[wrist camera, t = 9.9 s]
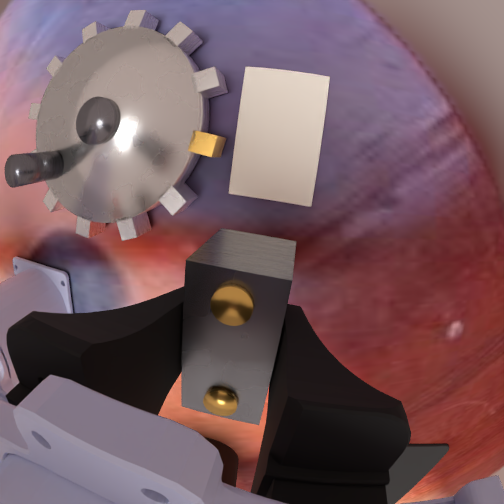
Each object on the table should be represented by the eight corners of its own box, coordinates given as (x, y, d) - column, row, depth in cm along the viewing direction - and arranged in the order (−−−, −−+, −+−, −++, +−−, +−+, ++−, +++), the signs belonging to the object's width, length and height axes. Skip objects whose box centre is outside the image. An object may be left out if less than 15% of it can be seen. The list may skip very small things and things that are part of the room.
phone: (453, 445, 22) (389, 508, 27) (451, 440, 23) (388, 504, 28) (398, 446, 23) (340, 509, 28) (396, 440, 24) (340, 504, 28)
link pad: (310, 206, 18) (311, 207, 18) (229, 193, 19) (228, 193, 19) (329, 78, 16) (329, 76, 16) (246, 67, 16) (245, 66, 16)
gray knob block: (271, 363, 14) (257, 430, 10) (209, 349, 14) (179, 411, 10) (296, 241, 12) (291, 285, 8) (221, 228, 12) (182, 263, 8)
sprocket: (272, 162, 17) (258, 164, 12) (94, 265, 22) (43, 296, 16) (166, -14, 15) (126, -54, 9) (26, 109, 19) (-27, 108, 13)
